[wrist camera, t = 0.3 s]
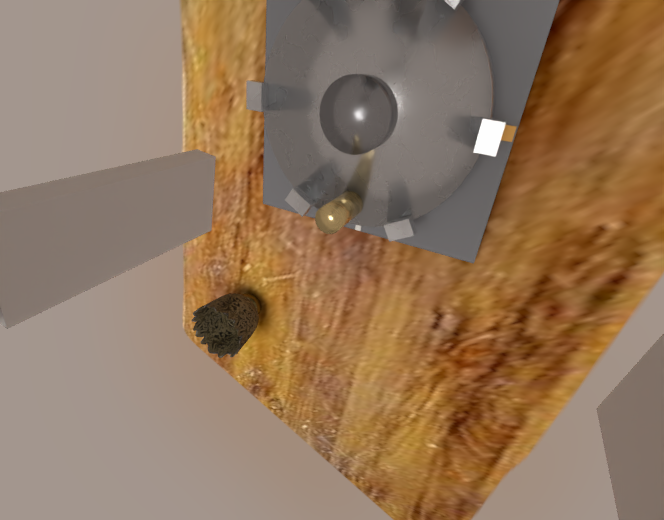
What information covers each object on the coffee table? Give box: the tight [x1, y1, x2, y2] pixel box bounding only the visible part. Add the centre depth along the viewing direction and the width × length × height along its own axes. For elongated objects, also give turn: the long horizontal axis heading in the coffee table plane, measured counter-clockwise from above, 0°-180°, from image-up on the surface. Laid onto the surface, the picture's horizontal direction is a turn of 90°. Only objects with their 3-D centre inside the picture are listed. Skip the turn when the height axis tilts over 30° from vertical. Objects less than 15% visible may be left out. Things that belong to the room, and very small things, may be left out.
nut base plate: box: [263, 0, 559, 263], centre depth 35 cm, size 24×24×2 cm
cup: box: [192, 293, 261, 358], centre depth 51 cm, size 7×7×8 cm
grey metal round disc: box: [247, 0, 507, 242], centre depth 31 cm, size 20×22×8 cm
